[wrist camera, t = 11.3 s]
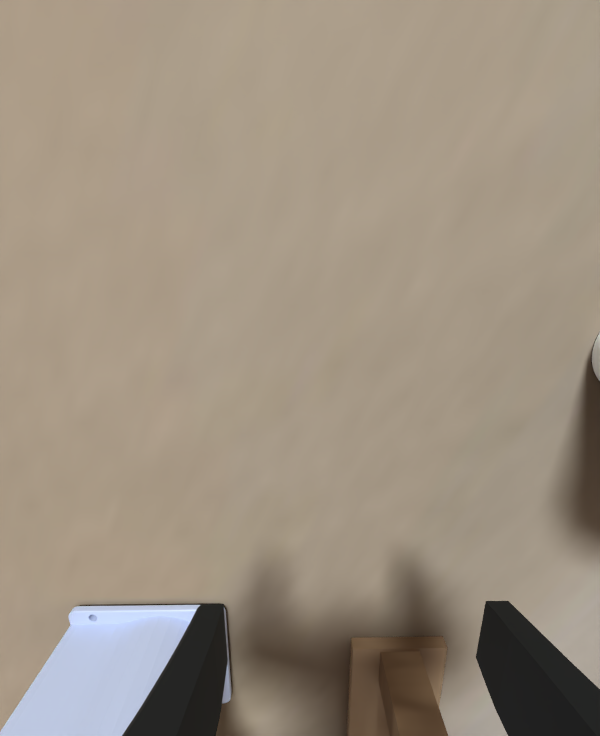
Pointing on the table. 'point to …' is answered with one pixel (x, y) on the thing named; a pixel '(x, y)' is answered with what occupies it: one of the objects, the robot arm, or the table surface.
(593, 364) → the dixie cup
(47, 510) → the table surface
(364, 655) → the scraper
